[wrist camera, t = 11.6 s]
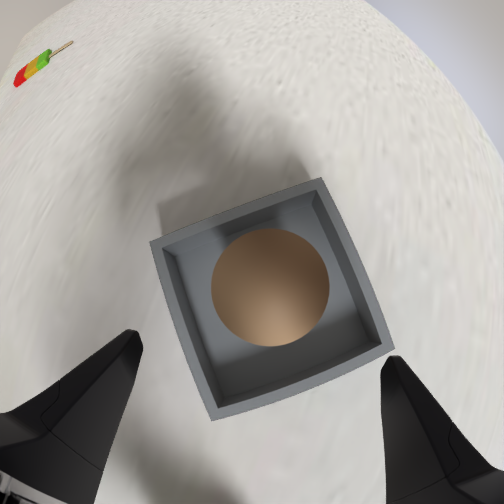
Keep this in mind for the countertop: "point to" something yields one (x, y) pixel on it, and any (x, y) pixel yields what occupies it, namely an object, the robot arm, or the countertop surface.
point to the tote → (269, 357)
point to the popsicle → (35, 66)
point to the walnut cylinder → (270, 287)
